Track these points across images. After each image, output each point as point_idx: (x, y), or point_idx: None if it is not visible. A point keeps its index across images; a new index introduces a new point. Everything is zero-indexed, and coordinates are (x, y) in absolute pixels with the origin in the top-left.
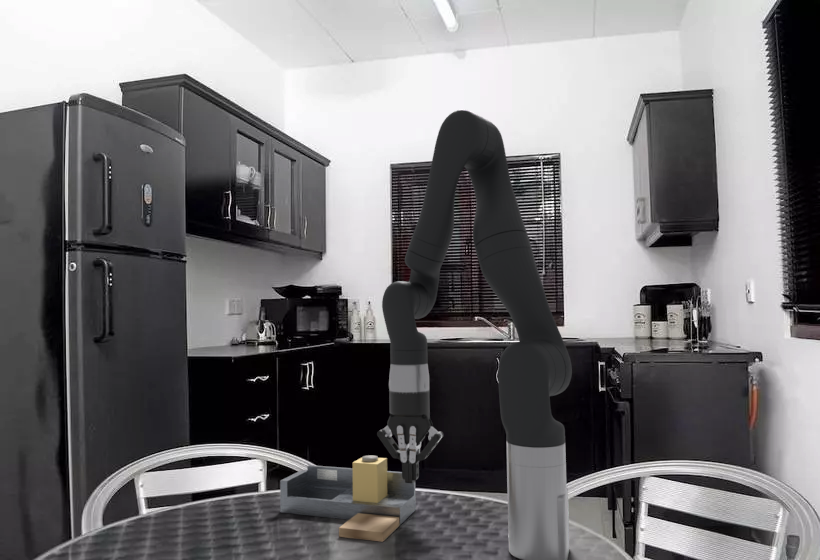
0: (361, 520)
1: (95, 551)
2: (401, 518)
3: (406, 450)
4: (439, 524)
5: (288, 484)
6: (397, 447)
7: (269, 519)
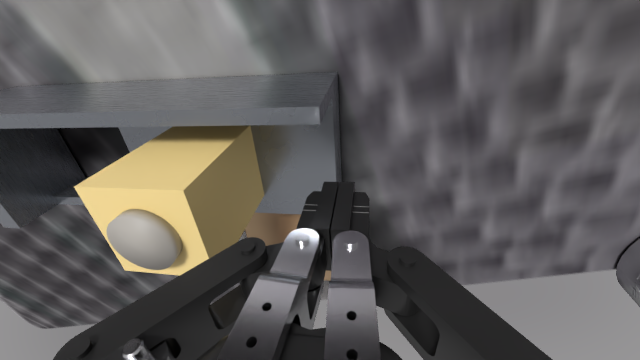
0: (272, 240)
1: (59, 323)
2: None
3: (312, 320)
4: (435, 155)
5: (26, 216)
6: (233, 281)
7: None
